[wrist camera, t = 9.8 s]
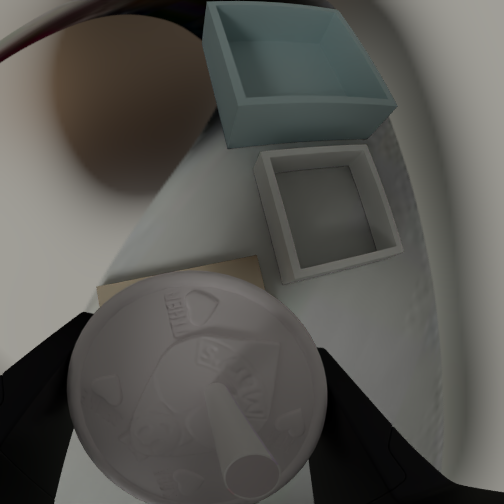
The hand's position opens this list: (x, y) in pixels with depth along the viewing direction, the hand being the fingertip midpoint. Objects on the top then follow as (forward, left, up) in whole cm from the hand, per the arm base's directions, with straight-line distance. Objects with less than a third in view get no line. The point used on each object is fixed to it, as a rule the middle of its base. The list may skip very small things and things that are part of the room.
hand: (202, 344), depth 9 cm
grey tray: (+6, -10, -10) cm, 16 cm away
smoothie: (-1, 0, -8) cm, 8 cm away
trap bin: (+18, -11, -10) cm, 23 cm away
